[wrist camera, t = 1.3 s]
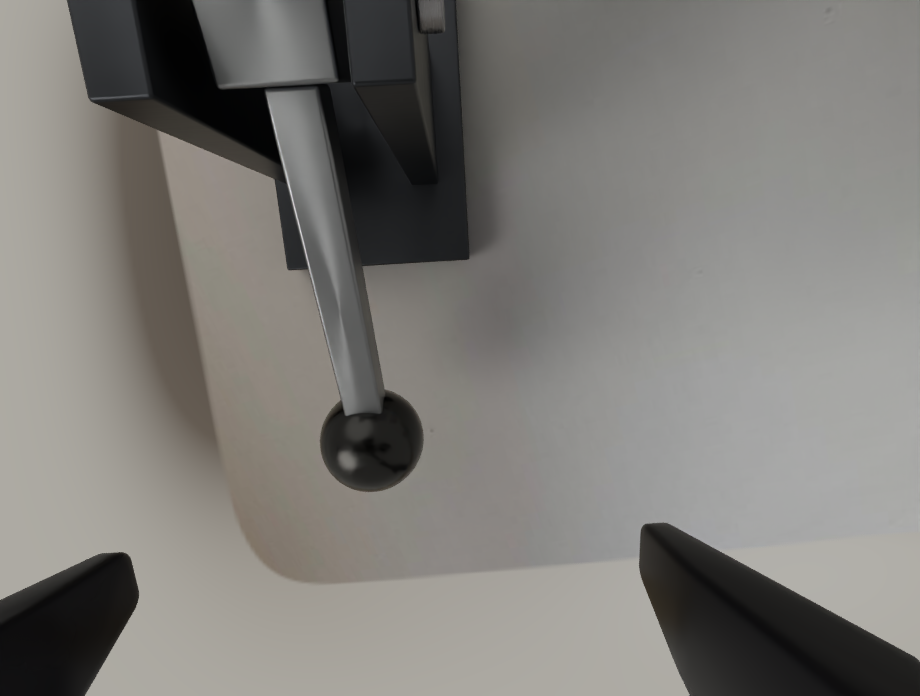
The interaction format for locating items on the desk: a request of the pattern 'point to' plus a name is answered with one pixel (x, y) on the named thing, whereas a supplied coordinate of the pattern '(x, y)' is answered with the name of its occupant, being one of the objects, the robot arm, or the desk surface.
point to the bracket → (355, 105)
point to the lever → (319, 214)
